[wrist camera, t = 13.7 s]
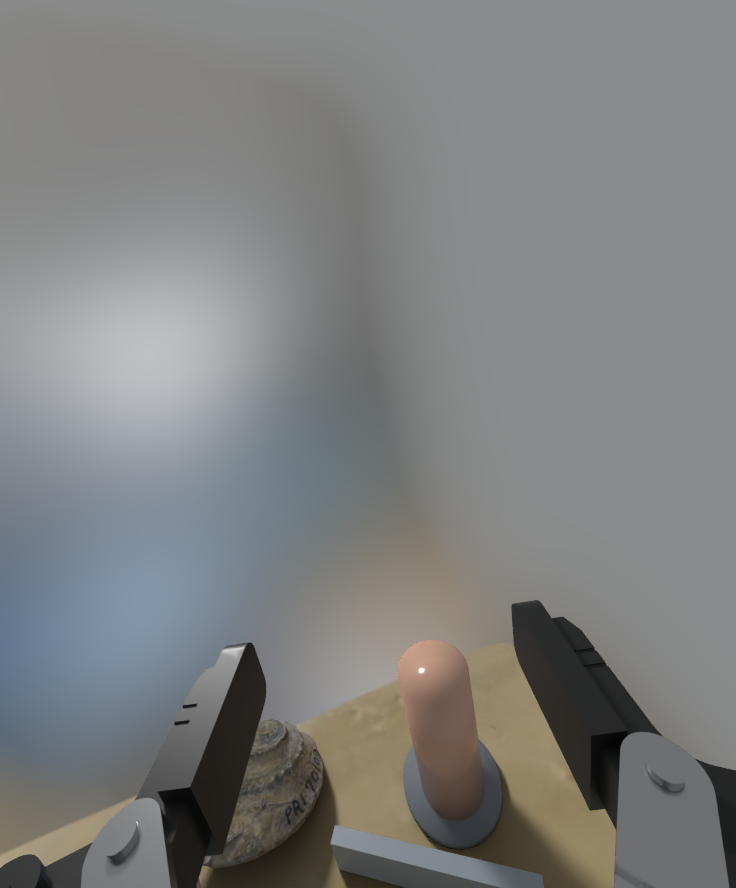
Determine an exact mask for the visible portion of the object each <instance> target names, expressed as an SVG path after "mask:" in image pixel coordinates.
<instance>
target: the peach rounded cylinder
mask: <svg viewBox="0 0 736 888" xmlns="http://www.w3.org/2000/svg"><path fill="white" fill-rule="evenodd" d="M398 678H399V683H400V687H401V692H402V697H403V701H404V706H405V711H406V715H407V720H408V724H409V729H410V734H411V738H412V743H413V747H414V752H415V757H416V761H417V766H418V770H419V775H420V780H421V784H422V789H423V792H424V795H425V797H426V799H427V801H428V803H429V804H430V806H431V807H432V808H433V809H434V810H435V811H436V812H437V813H438V814H439V815H441V816H442V817H445V818H447V819H450V820H456V821H457V820H464V819H467V818H469V817H471V816H472V815H473V814H474V813H476V811H477V810H478V809H479V807H480V805H481V804H482V801H483V798H484V792H485V782H484V775H483V768H482V761H481V754H480V747H479V740H478V733H477V726H476V719H475V712H474V705H473V698H472V691H471V684H470V677H469V670H468V665H467V662H466V659H465V658H464V656H463V655H462V653H461V652H460V651H459V650H458V649H457V648H456V647H454V646H453V645H451V644H449V643H447V642H444V641H440V640H425V641H421V642H418V643H416V644H414V645H412V646H411V647H410V648H408V649H407V650H406V651H405V653H404V654H403V655H402V657H401V659H400V662H399V665H398Z"/></svg>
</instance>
